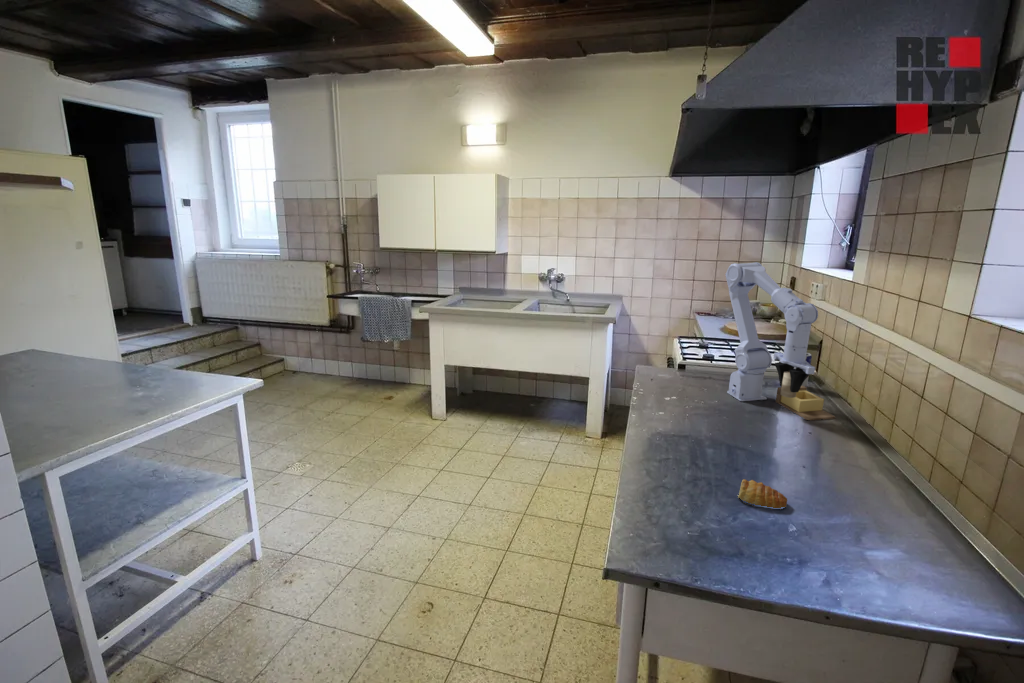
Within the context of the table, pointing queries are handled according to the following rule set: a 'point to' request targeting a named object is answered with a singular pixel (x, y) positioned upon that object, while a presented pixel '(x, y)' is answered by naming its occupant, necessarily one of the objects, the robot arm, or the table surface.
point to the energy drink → (808, 359)
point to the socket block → (804, 401)
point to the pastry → (761, 494)
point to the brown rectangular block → (807, 414)
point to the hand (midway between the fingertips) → (789, 389)
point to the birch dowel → (787, 386)
